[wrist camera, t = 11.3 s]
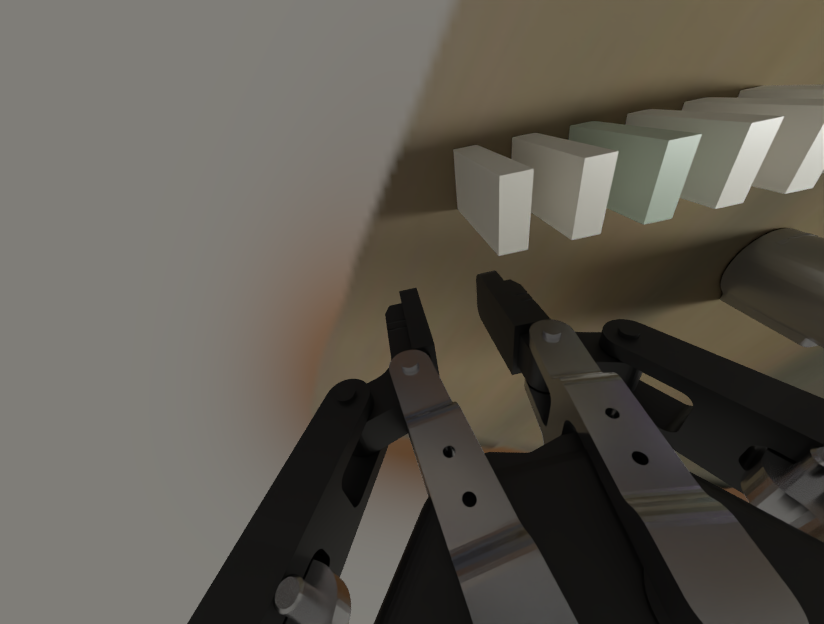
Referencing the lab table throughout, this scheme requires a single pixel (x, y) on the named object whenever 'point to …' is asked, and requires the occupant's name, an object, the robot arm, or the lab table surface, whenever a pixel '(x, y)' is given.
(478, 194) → the domino
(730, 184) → the domino
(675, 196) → the domino
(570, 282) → the lab table surface
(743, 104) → the domino
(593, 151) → the domino
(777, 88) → the domino
